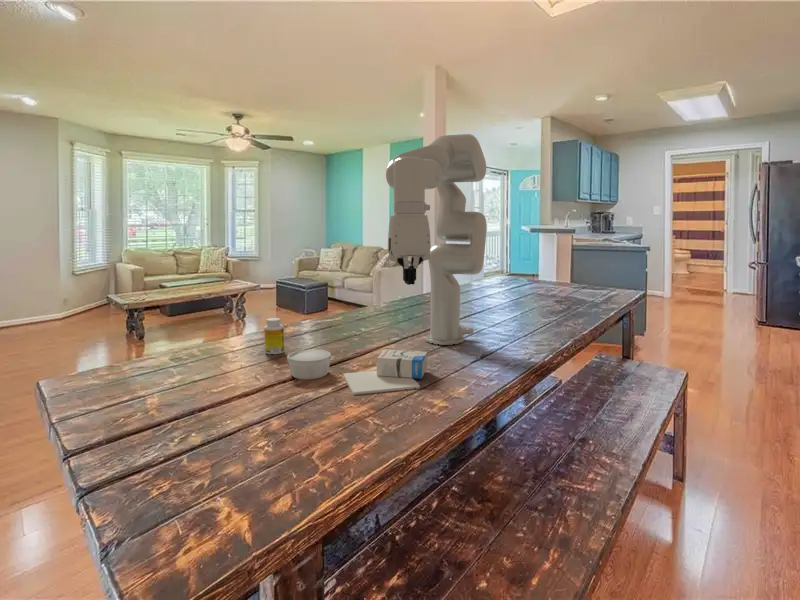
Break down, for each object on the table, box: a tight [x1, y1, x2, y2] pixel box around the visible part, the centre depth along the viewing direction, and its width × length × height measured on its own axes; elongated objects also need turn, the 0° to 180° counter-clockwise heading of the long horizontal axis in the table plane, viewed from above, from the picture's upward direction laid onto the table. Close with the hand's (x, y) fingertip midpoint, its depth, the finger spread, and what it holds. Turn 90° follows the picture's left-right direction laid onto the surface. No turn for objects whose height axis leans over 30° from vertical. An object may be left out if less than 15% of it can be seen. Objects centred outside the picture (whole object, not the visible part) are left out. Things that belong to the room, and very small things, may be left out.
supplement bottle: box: [263, 317, 285, 355], centre depth 144 cm, size 6×6×10 cm
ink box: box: [376, 348, 428, 380], centre depth 124 cm, size 9×5×12 cm
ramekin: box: [286, 348, 332, 381], centre depth 125 cm, size 11×11×5 cm
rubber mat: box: [342, 370, 421, 396], centre depth 119 cm, size 16×14×1 cm
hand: (409, 283), depth 122 cm, fingers closed
